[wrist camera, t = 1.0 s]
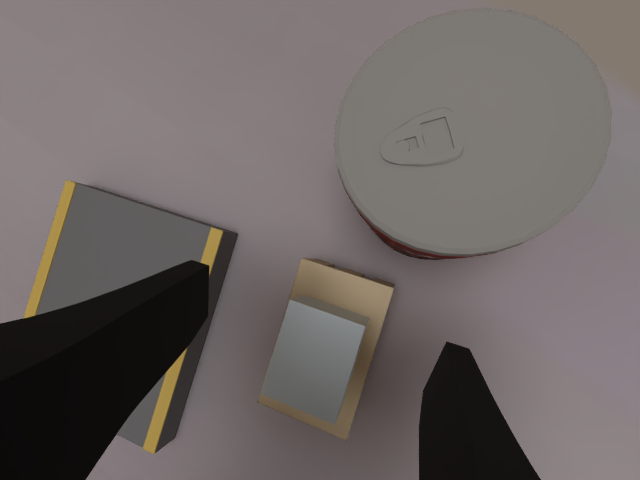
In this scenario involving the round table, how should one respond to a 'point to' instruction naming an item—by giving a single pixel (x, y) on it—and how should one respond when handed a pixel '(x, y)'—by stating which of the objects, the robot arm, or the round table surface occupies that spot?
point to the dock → (129, 280)
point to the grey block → (315, 357)
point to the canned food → (471, 133)
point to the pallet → (349, 295)
